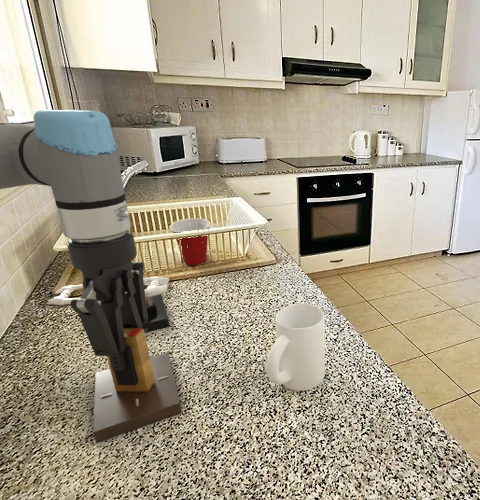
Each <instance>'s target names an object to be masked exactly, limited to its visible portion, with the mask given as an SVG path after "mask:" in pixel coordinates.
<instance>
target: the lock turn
mask: <svg viewBox="0 0 480 500" xmlns="http://www.w3.org/2000/svg"><path fill="white" fill-rule="evenodd" d="M123 330H124V337H125V344H126V346H130V347H131V352H132V356H133V361H134V365H135V369H136V374H137V378H138V383H137V384H136V385H118V384H117V380H116V376H115V372H114V371H113V369H112V366H111V362H110V358H109V356H106V359H107V363H108V367H109V369H110V371H111V374H112V378H113V382H114V386H115V390H116V391H138V392H148V391H149V390H150V388H151V387H152V385H153V384H154V382H155V380H154V376H153V371H152V366H151V361H150V357H151V356H150V353H149V348H148V342H147V338H146V333H145V332H144V329H142V328H135V329H123Z"/></svg>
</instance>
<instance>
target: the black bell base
mask: <svg viewBox="0 0 480 500" xmlns="http://www.w3.org/2000/svg"><path fill="white" fill-rule="evenodd" d="M146 299H147V305H146V306H147V315H148V321H147V322H146V323H143V324H142V326H143V327H148V330H147V332H146V333H145V334H147V333H150V332H155V331H159V330H162V329H166V328H170V327H171V326H170V320H169V315H168V313H167V309H166V304H165V302H164V298H163V293H162V294H158V295H155V296H150V297H147V296H146ZM139 315H140V314H139Z"/></svg>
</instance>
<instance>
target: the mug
mask: <svg viewBox="0 0 480 500" xmlns="http://www.w3.org/2000/svg"><path fill="white" fill-rule="evenodd" d="M274 320H275V336H276V340H275V341H274V343H273V344H272V345H271V348H270V349H269V352H268V355H267V358H266V361H265V372H266V376H267V378H268V380H269V381H270V382H271V383H272V384H275V385H283V387H285V388H286V389H288V390H290V391H296V392H303V391H308V390H312V389H314V388H316V387H318V386H319V385H320V384H321V383H322V382H323V380H324V379H325V377H326V317H325V313H324V311H323V309H322V308H320V307H319V306H317V305H314V304H310V303H293V304H290V305H287V306H284V307H282V308H281V309H280V310H278V311H277V313H276V315H275V318H274Z"/></svg>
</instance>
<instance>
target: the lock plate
mask: <svg viewBox="0 0 480 500" xmlns="http://www.w3.org/2000/svg"><path fill="white" fill-rule="evenodd" d="M150 361H151V366H152V371H153V376H154V380H155V382H154V384H153V385H152V387H151V388H150V390H149V391H148V392H138V391H116V390H115V386H114V382H113V378H112V374H111V371H110V368H107V369H103V370H100V371H97V372H95V375H94V376H95V377H94V397H93V398H94V399H93V420H92V421H93V423H92V434H93V437H94V440H95V443H96V444H100V443H101V442H104V441H107V440H109V439H113V438H116V437H119V436H121V435H123V434H126V433H129V432H132V431H135V430H137V429H141V428H144V427H145V426H150V425H151V424H154V423H157V422H161V421H163V420H165V419H169V418H171V417H174V416H177V415H179V414H182V413H183V409H182V405H181V399H180V396H179V392H178V387H177V383H176V379H175V375H174V371H173V367H172V363H171V359H170V354H169V352H164V353H160V354H158V355H154V356H150Z"/></svg>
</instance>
